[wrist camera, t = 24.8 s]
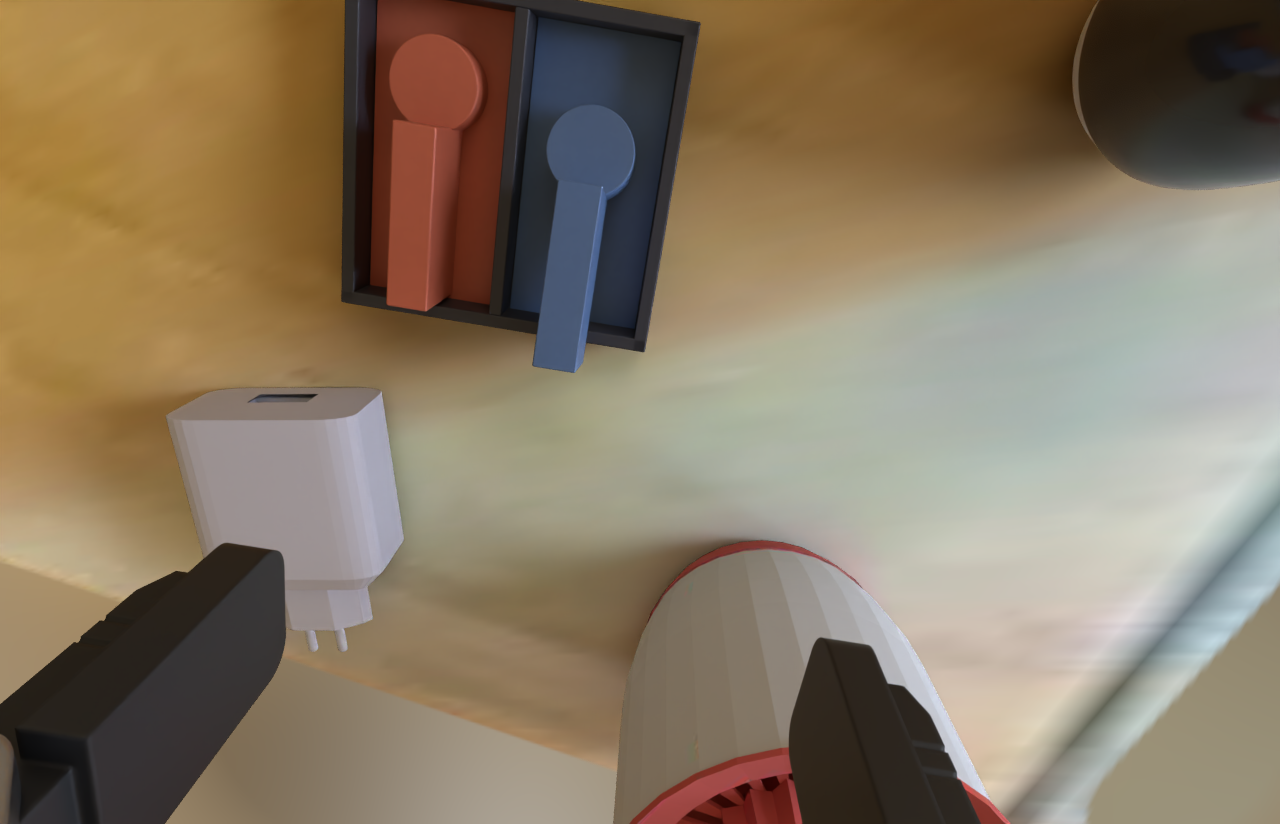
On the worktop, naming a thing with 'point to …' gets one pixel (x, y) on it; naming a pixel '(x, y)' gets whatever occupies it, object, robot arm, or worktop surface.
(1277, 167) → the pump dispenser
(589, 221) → the slate-blue spoon
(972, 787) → the citrus juicer
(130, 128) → the worktop surface
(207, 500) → the charger
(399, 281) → the terracotta spoon
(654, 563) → the worktop surface
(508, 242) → the cutlery tray
